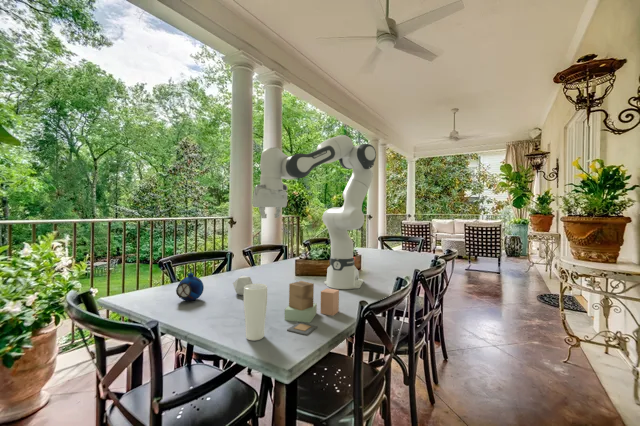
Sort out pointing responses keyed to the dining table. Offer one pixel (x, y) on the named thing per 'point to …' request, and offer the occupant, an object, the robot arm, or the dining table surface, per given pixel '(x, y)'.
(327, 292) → the terracotta block
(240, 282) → the die
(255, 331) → the drinking glass
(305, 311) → the sage base block
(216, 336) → the dining table surface
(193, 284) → the bomb
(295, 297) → the walnut block
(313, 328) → the card
